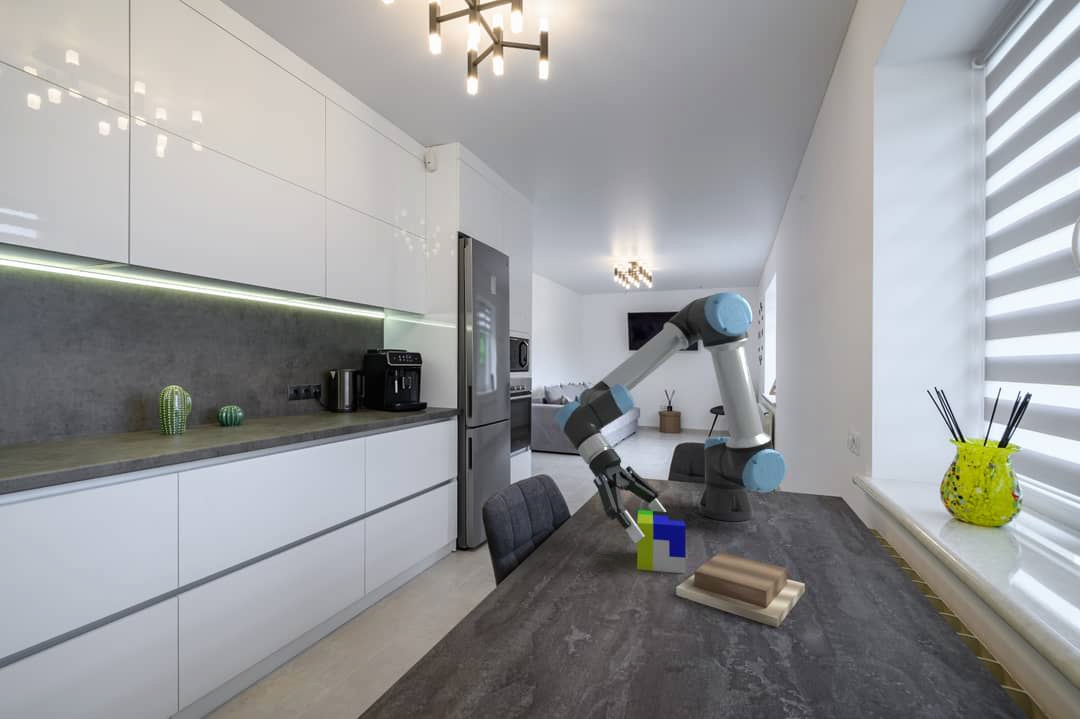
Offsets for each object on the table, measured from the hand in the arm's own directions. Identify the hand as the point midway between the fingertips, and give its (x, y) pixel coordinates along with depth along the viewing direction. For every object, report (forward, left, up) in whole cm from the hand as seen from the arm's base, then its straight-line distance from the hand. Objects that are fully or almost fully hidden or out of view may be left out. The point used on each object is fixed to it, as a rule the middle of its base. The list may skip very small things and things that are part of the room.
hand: (655, 532), depth 111 cm
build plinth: (+3, +20, -7) cm, 21 cm away
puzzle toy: (-1, +1, -7) cm, 7 cm away
